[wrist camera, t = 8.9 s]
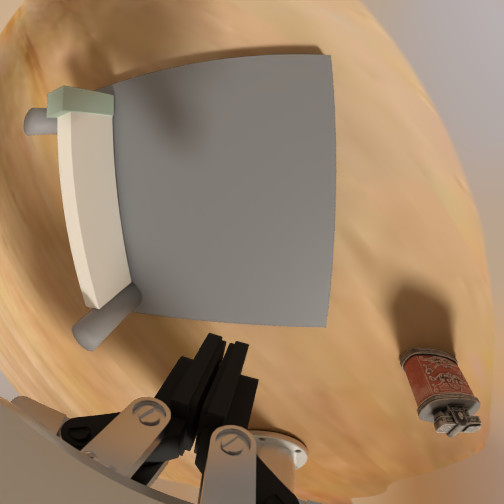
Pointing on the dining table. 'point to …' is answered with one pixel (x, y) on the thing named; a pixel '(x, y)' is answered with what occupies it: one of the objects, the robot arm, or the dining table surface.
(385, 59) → the dining table surface
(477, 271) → the dining table surface
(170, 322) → the dining table surface
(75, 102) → the pale rectangular block
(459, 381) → the lighter
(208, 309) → the base
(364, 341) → the dining table surface
